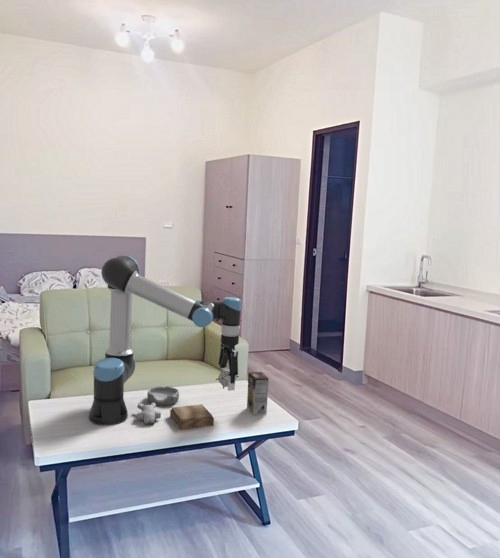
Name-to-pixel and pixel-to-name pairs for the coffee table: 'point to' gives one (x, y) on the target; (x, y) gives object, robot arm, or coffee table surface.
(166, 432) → the coffee table surface
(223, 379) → the game die
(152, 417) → the grey teddy bear
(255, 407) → the coffee box
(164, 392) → the dish
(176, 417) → the plinth
